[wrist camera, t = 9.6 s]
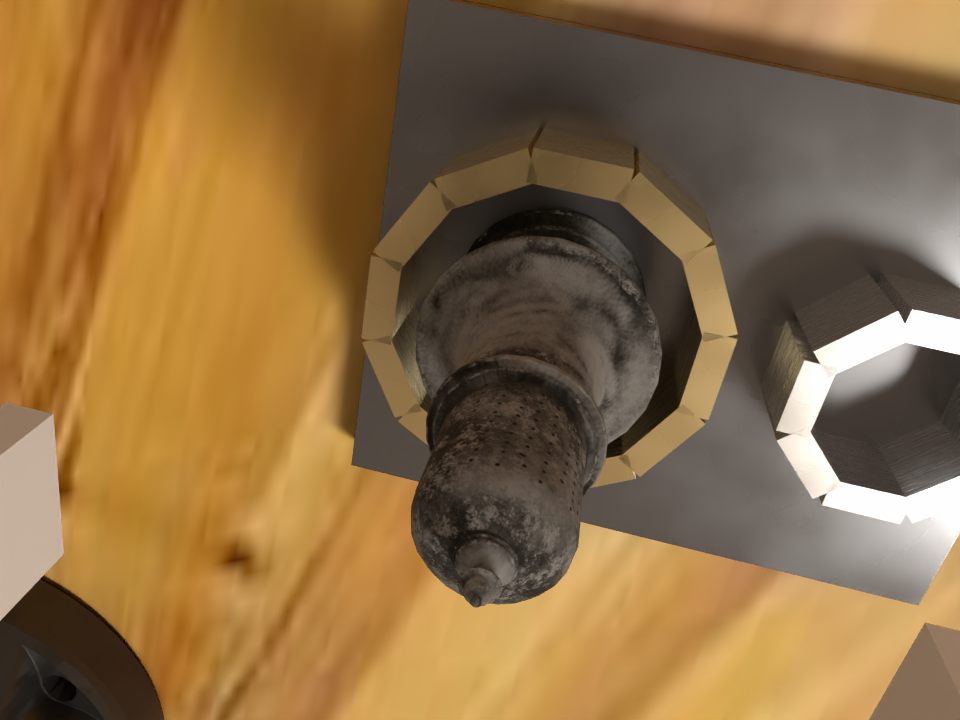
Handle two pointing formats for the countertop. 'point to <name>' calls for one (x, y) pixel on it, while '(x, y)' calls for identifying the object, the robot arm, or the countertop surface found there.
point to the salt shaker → (526, 398)
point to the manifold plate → (775, 246)
